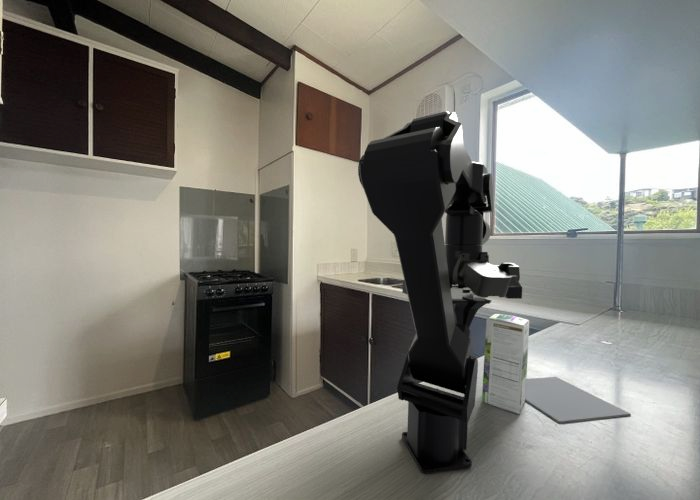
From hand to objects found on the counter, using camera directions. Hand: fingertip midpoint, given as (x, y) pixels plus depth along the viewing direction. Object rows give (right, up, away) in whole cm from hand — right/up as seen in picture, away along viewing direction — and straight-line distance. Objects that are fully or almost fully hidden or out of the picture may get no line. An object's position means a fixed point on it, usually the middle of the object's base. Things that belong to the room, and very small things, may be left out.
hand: (459, 339), depth 46 cm
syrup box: (+8, -12, +2) cm, 14 cm away
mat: (+19, -12, +4) cm, 23 cm away
